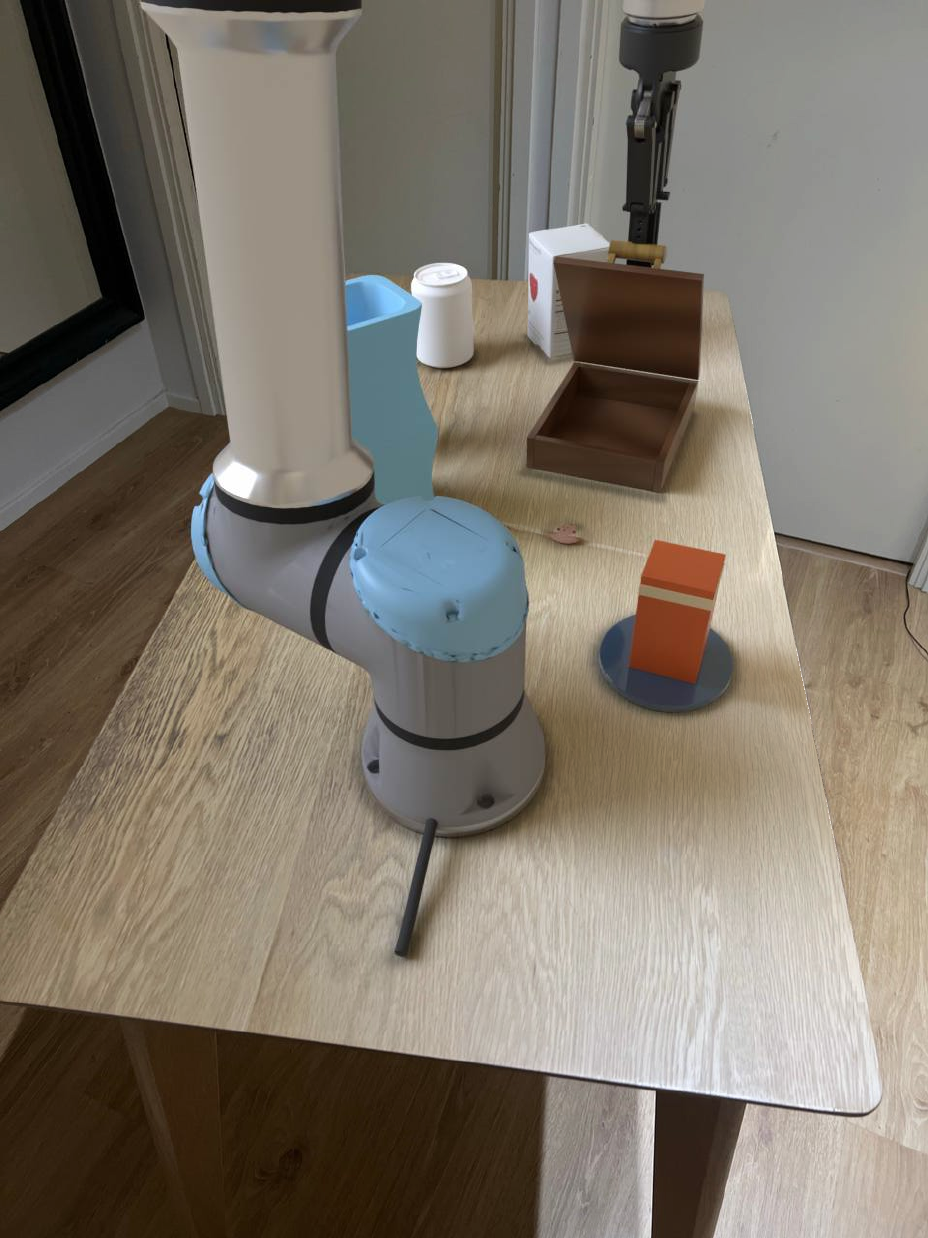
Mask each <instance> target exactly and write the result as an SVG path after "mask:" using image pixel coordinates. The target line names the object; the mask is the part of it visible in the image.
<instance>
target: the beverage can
mask: <svg viewBox="0 0 928 1238" xmlns="http://www.w3.org/2000/svg"><path fill="white" fill-rule="evenodd" d="M472 284H473V283H472V279H471V277H470V275H469V273H468V270H467V268H466V267H464V266H462V265H460V264H457V263H450V262H435V263H430V264H426V265H423V266H420V267H419V268H418V269H416V270H415V271H414V273H413V279H412V280H411V282H410V290H411V295H412V296H414V297H415V298H417V299H418V300H419V301H420V302H421V303H422V310H421V317H420V323H419V330H418V338H417V360H418V361H419V362H420V363H422V364H424V365H426V366H429V367H432V368H436V369H451V368H455V367H458V366H461V365H464V364H465V363H467V362H468V361H470V360H471V359H472V358H473V356H474V351H475V349H474V347H475V346H474V320H473V319H474V318H473V316H474V313H473V285H472Z"/></svg>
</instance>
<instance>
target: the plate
mask: <svg viewBox="0 0 928 1238" xmlns="http://www.w3.org/2000/svg"><path fill="white" fill-rule="evenodd" d="M635 617H636V614H634V615H630V616H628V617H625V618H623V619H622V620H619V621H618V622H616V623H615V624H614V625H612V626H611V628H609V630H607V632H606V633H605V634H604V636H603V638H602V640H601V642H600V646H599V653H598V663H599V667H600V671H601V674H602V676H603V678H604V680H605V681H606V682H607V684H608V685H609V686H610V687H611V688H612V690H614V692H616V693H617V694H618V695H619V696H621V697H622V698H623V699H624V700H627V701H629V702H631V704H632V703H633V704H634V705H637V706H639V707H642V708H644V709H649V710H652V711H657V712H664V713H665V712H666V713H683V712H684V713H685V712H690V711H695V710H698V709H701V708H704V707H706V706H707V705H710V704H712V703H713V702H715V701H717V699H719V698H720V697H721V696H722V695H723V694H724V693H725V692H726V691H727V688H728V687H729V685H730V682H731V679H732V676H733V670H734V661H733V656H732V653H731V651H730V648H729V646H728V645H727V643H726V642H725V640H724V639H723V638H722V636H721V635H719V634H718V633H717V632H716V631H715V630H714V629H713V628H711V627H710V630H709V634H708V639H707V644H706V648H705V651H704V655H703V658H702V662H701V665H700V669H699V672H698V676H697V679H696V683H695V684H693V683H689V682H685V681H681V680H677V679H673V678H669V677H665V676H661V675H657V674H653V673H649V672H645V671H641V670H638V669H634V668H630V667H629V661H630V654H631V647H632V639H633V632H634V625H635Z"/></svg>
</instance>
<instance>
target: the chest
mask: <svg viewBox="0 0 928 1238" xmlns="http://www.w3.org/2000/svg"><path fill="white" fill-rule="evenodd" d="M698 386H699V380H693V379H687V378H680V377H674V376H667V375H661V374H655V373H648V372H642V371H635V370H629V369H622V368H616V367H609V366H603V365H596V364H590V363H583V362H577V361H574V362H573V363H572V365H571V367H570V368H569V370H568V372H566V375H565V376H564V378H563V379H562V380H561V382H560V384H559V386H558V387H557V389H556V390H555V392H554V394H553V395H552V397H551V398H550V400H549V402H548V403H547V405H546V407H545V408H544V410H543V411H542V413H541V414H540V416H539V417H538V419H537V421H536V422H535V423H534V425H533V427H532V428H531V430H530V432H529V433H528V435H527V437H526V457H525V458H526V462H525V463H526V464H525V465H526V468H527V469H534V470H537V471H543V472H549V473H554V474H559V475H563V476H569V477H575V478H578V479H579V478H580V479H585V480H590V481H595V482H600V483H606V484H611V485H615V486H620V487H625V488H631V489H636V490H640V491H641V490H642V491H645V492H652V493H657V494H661V492H662V490H663V486H664V484H665V482H666V479H667V476H668V475H669V472H670V469H671V467H672V464H673V462H674V460H675V457H676V455H677V453H678V450H679V447H680V445H681V443H682V440H683V438H684V435H685V432H686V430H687V427H688V425H689V423H690V420H691V418H692V416H693V412H694V410H695V404H696V398H697V393H698V392H697V391H698Z"/></svg>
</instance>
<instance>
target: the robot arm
mask: <svg viewBox="0 0 928 1238" xmlns="http://www.w3.org/2000/svg"><path fill="white" fill-rule="evenodd" d="M362 2H363V0H139V3H140V7H141V10H143V11H144V13H146V14H147V15H148V16H149V17H150V19H151V20H152V21H153V22H154V23H155V24H156V25H157V26H158V27H159V28H160V29H161V30H162V31H163V32H164V33H165V34H166V35H167V37H168V38H169V39H170V40H171V42H172V43H173V45H174V47H175V48H176V53H177V60H178V67H179V74H180V81H181V89H182V95H183V96H182V97H183V104H184V110H185V118H186V119H185V120H186V126H187V132H188V134H187V135H188V139H189V140H188V141H189V147H190V155H191V162H192V169H193V177H194V184H195V191H196V199H197V205H198V207H197V208H198V213H199V221H200V222H199V223H200V228H201V229H200V230H201V235H202V237H201V238H202V243H203V251H204V257H205V259H204V260H205V265H206V273H207V280H208V287H209V295H210V301H211V303H210V304H211V308H212V316H213V323H214V331H215V332H214V333H215V339H216V345H217V346H216V347H217V354H218V360H219V366H220V367H219V368H220V376H221V383H222V389H223V390H222V391H223V399H224V405H225V412H226V419H227V420H226V421H227V427H228V434H229V435H228V436H229V443H228V444H227V445H226V446H225V447H224V448H222V450H221V451H220V452H219V453H218V454H217V455H216V457H215V459H214V461H213V464H212V472H211V473H210V474H209V475H208V477H207V478H206V480H205V481H204V482H203V484H202V486H201V489H200V491H199V495H200V496H201V498H202V500H201V502H200V504H199V505H195V506H194V507H193V509H192V515H191V524H190V525H191V526H190V536H191V537H190V538H191V545H192V550H193V553H194V556H195V559H196V562H197V564H198V566H199V569H200V570H201V571H202V574H203V575H204V576H205V577H206V579H207V580H208V581H209V582H210V583H211V584H212V586H214V587H215V588H216V589H217V590H219V591H220V592H221V593H223V594H225V595H227V596H228V597H229V598H230V600H232V601H233V602H235V603H236V604H237V605H239V606H240V607H242V608H243V609H245V610H247V611H250V612H253V613H256V614H257V615H260V616H261V617H264V618H266V619H268V620H269V621H271V622H274V623H276V624H277V625H279V626H281V627H282V628H284V629H287V630H288V631H291V632H293V633H295V634H297V635H299V636H301V637H303V638H304V639H306V640H308V641H310V642H312V643H314V644H316V645H318V646H320V647H322V648H324V649H326V650H328V651H330V652H332V653H334V654H336V655H338V656H339V657H341V658H343V659H345V660H347V661H349V662H351V663H352V664H353V665H354V664H355V665H356V666H358V667H359V668H362V669H363V670H364V671H366V672H367V674H368V675H369V677H370V682H371V689H372V695H373V705H372V707H371V710H370V714H369V717H368V718H367V723H366V726H365V729H364V732H363V735H362V740H361V751H360V752H361V754H360V755H361V756H360V761H361V769H362V775H363V779H364V784H365V785H366V789H367V791H368V793H369V796H370V797H371V798H372V800H373V801H374V803H375V805H377V807H378V808H379V809H380V810H381V811H382V812H383V813H384V814H385V815H386V816H388V817H389V818H390V819H391V820H393V821H394V822H396V823H398V824H399V825H401V826H403V827H405V828H407V829H410V830H412V831H415V832H418V833H421V834H422V837H421V841H420V846H419V849H418V853H417V859H416V862H415V866H414V870H413V875H412V879H411V882H410V883H411V884H410V887H409V892H408V896H407V900H406V905H405V909H404V912H403V913H404V914H403V918H402V922H401V926H400V930H399V934H398V938H397V940H396V944H395V949H394V954H395V955H396V956H398V957H401V958H405V957H406V956H408V952H409V950H410V949H409V948H410V945H411V941H412V937H413V933H414V928H415V924H416V920H417V916H418V911H419V908H420V902H421V898H422V894H423V888H424V885H425V879H426V876H427V872H428V867H429V863H430V858H431V854H432V850H433V846H434V842H435V837H444V838H457V837H458V838H459V837H467V836H473V835H476V834H482V833H484V832H488V831H491V830H493V829H495V828H497V827H500V826H502V825H503V824H505V823H507V822H509V821H511V820H512V819H513V818H515V817H516V816H517V815H518V814H520V813H521V812H522V811H523V810H524V809H525V808H526V807H527V806H528V805H529V804H530V803H531V801H532V800H533V799H534V797H535V795H536V794H537V792H538V790H539V788H540V787H541V784H542V781H543V778H544V774H545V769H546V757H547V755H546V752H547V751H546V741H545V735H544V730H543V728H542V727H543V726H542V725H541V722H540V720H539V717H538V715H537V714H536V713H535V710H534V708H533V705H532V703H531V701H530V698H529V697H528V695H527V693H526V690H525V681H526V679H525V678H526V676H525V675H526V649H527V645H526V644H527V621H528V616H529V611H530V599H529V598H530V595H529V591H528V586H527V581H526V567H525V560H524V557H523V555H522V552H521V548H520V546H519V543H518V542H517V540H516V538H515V537H514V536H513V534H512V532H510V529H508V527H506V525H505V524H504V523H503V522H501V521H500V520H499V519H498V518H497V517H496V516H494V515H492V514H491V513H489V512H488V511H487V510H485V509H484V508H481V507H480V506H477V505H475V504H473V503H471V502H467V501H465V500H462V499H459V498H454V497H449V496H442V495H434V499H433V500H432V501H425V500H424V499H423V498H422V497H421V496H414V497H408V498H403V499H399V500H396V501H393V502H391V503H388V504H386V505H384V504H382V503H379V502H378V501H377V500H376V497H375V477H374V460H373V456H372V454H371V452H370V451H369V450H368V448H367V447H366V446H365V445H363V444H362V443H361V442H360V441H358V440H357V439H356V438H354V437H353V436H352V422H351V399H350V376H349V353H348V330H347V307H346V284H345V281H346V267H345V265H346V261H345V243H344V242H345V241H344V240H345V239H344V220H343V219H344V217H343V194H342V192H343V191H342V174H341V173H342V172H341V171H342V170H341V149H340V148H341V147H340V127H339V126H340V124H339V106H338V105H339V104H338V103H339V102H338V100H339V99H338V79H337V57H336V56H337V55H336V52H337V51H338V50H337V49H338V47H339V45H340V43H341V41H342V40H343V39H344V37H345V36H346V35H347V34H348V32H350V30H351V29H352V27H353V26H355V24H356V23H357V21H358V20H359V19H360V18H361V16H362V15H363V7H362V5H363V3H362ZM705 5H706V0H621V8H620V10H621V12H622V13H623V14H624V15H626V17H624V19H623V20H622V21H621V23H620V31H619V32H620V33H619V50H618V61H619V64H620V65H621V66H622V67H623V68H625V69H626V70H629V71H634V72H635V73H636V74H638V79H637V85H636V86H637V87H636V88H633V89H632V92H631V99H630V109H631V112H632V114H629V115H627V118H626V121H625V126H626V137H627V148H626V149H627V150H626V151H627V152H626V155H627V156H626V188H625V190H626V191H625V203H624V204H623V205H622V209H621V210H622V212H626V213H629V222H628V236H627V237H628V238H627V241H629V242H632V243H634V244H643V245H645V244H646V243H647V244H656V245H658V244H659V232H660V222H661V211H662V202H661V201H667V202H668V201H669V200H670V196H671V191H664V188H666V187H667V185H668V183H669V171H670V163H671V155H672V148H673V147H672V146H673V139H674V132H675V123H676V117H677V109H678V103H679V99H680V92H681V90H682V80H679V79H677V72H681V71H685V70H688V69H691V68H692V67H693V66H695V65H696V64H697V63H698V61H699V60H700V57H701V56H700V55H701V48H702V47H701V46H702V37H703V36H702V35H703V29H704V20H703V18H702V16H701V15H700V14H699V13H700V12H701V11H702V10H703V9H704V8H705ZM625 265H633V266H641V267H650V268H653V265H654V263H652V262H644V261H635V260H627V259H626V263H625Z"/></svg>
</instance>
